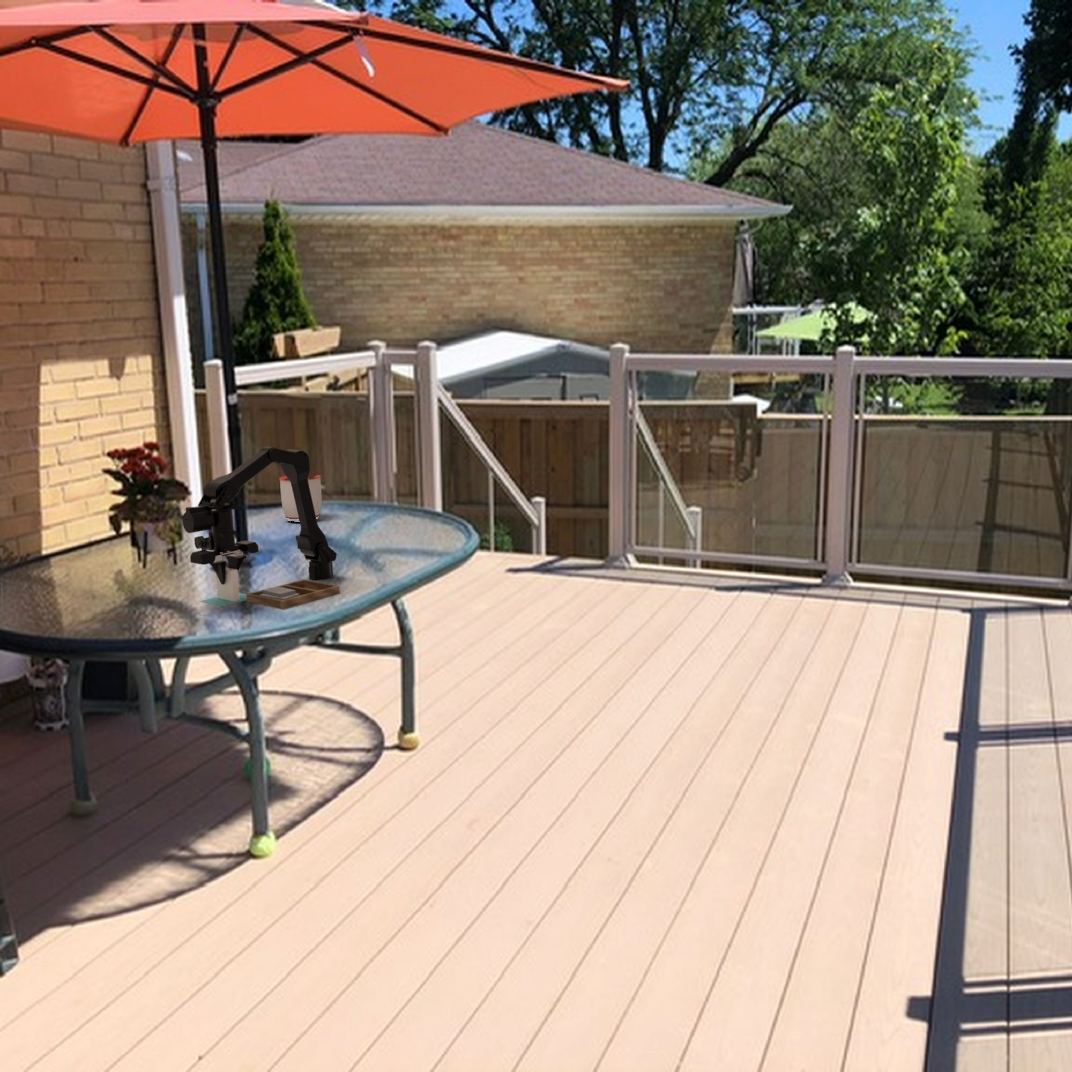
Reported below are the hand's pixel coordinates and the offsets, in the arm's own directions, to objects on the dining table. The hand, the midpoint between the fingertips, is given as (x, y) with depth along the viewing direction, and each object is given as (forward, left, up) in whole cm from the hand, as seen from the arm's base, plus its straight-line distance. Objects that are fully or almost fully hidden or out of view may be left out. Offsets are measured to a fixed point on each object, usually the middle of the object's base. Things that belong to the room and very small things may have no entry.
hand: (227, 583), depth 303 cm
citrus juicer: (-95, -78, -6) cm, 123 cm away
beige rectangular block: (0, 0, -4) cm, 5 cm away
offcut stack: (-6, +14, -4) cm, 16 cm away
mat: (0, 0, -6) cm, 6 cm away
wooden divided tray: (-11, +14, -6) cm, 19 cm away
